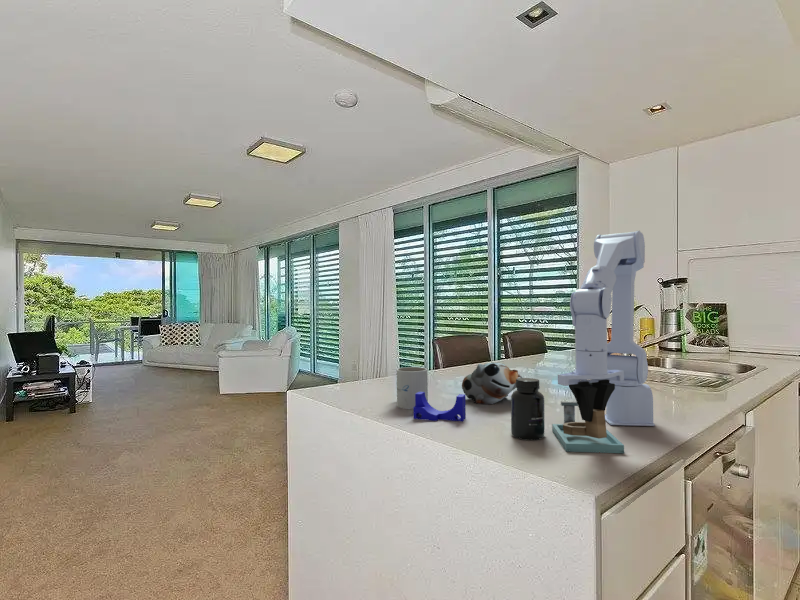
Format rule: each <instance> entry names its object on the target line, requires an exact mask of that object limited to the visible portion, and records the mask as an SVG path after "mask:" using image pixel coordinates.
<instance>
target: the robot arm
mask: <svg viewBox="0 0 800 600" xmlns="http://www.w3.org/2000/svg"><path fill="white" fill-rule="evenodd" d="M645 247H646V241H645V237H644V234H643V232H641V230H635V231H629V232H618V233H609V234H608V233H607V234H597V235H596V237H595V238H594V241H593V252H594V257H595V258H596V264H595V265H594V266H592V267H590V268H589V269H588V271H587V273H586V274H585V277H584V279H583V281H582V284H581V286H580V288H578V289H577V288H576V290H575V291H572V293H571V295H570V299H569V300H570V301H569V311H570V314H571V318H572V319H571V320H572V322H571V323H572V327H574V336H575V337H574V343H575V344H574V347H575V353H574V354H575V369H573V371H571V372H566V373H560V374H559V373H558V374H557V385H558V386H559V385H560V386H564V387H567V386H568V388H569V389H570V391H571V392H572V395H573V397H574V398H575V400H576V401H575V402H577V404H578V406H577V407H578V411H579V412H580V417H581V420H582V421H584V422H585V421H588V422H592V419H593V409H597V410H604V412H606V413H605V422H607V423H608V424H609V425H611V426H638V427H640V426H643V427H644V426H647V427H655V426H656V424H655V423H654V395H653V390H652V388H651V387H650V385H649V384H647V383H645V382H647V380H648V376H649V375H648V373H649V366H648V360H647V359H648V357H647V356H648V355H647V354H648V353H647V352H646V350H645V348H643V347H641V346H640V345H639V344H637V342H635V341H634V331H635V329H634V328H635V325H634V324H635V323H634V322H635V321H634V319H635V281H636V275H637V272H638V271H641V270H642V269H643V268H644V265H645V262H646V261H645V260H646V258H645V257H646V254H645V253H646V252H645V251H646V250H645V249H646V248H645ZM610 314H611V330H610V331H611V337H610V339H611V340H610V341H609V342H608V336H607V335H608V326H607V325H608V323H607V318H609V317H610ZM623 354H626V355H623ZM627 354H628V355H627Z"/></svg>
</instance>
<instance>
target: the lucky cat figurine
mask: <svg viewBox="0 0 800 600" xmlns="http://www.w3.org/2000/svg"><path fill="white" fill-rule="evenodd" d="M518 378H523V376H522V375H521V374H520V373H519V371H518V370H517V369H510V367H509V366H507V365H506V364H504V363H501V362H488V363H485V364H482V363H478V364H477V366H476V368H475V369H474V370H473V372H471V373H470V374H468V375H466V376H465V377H464V378H463V380H462V383H461V388H462V392H463V393H464V395H465V397H467V399H470V400H473V402H474V403H475V404H481V405H482V404H483V405H484V404H485V405H495V404H496V403H498V402H500V401H502V400H503V399H506V398H507V397H508V396H509V394H510V393H511V392H512V391H514V390H515V389H517V388H516V379H518Z"/></svg>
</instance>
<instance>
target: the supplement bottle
mask: <svg viewBox="0 0 800 600" xmlns="http://www.w3.org/2000/svg"><path fill="white" fill-rule="evenodd" d="M540 388H541V387H540V380H539V379H538V378H533V377H531V378H530V377H522V378H518V379H516V388H515V389H516V390H515V391H513V392H512V394H511V396H510V418H511V419H510V420H511V421H510V422H511V423H510V431H511V432H510V433H511V435H512V436H513V437H514V438H517V439H520V440H526V441H538V440H539V441H540V440H542V439H543V438H544V437H545V396H544V395H543V394H542V392H540V391H539V390H540Z"/></svg>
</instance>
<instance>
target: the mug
mask: <svg viewBox="0 0 800 600" xmlns="http://www.w3.org/2000/svg"><path fill="white" fill-rule="evenodd" d="M428 380H429V379H428V368H426V367H419V366H417V367H416V366H408V367H406V366H404V367H399V368H396V406H397V408H400V409H403V410H405V409H406V410H413V407H415V394H416V393H418V392H425V397H426V400H427V402H428V403H429V392H428V391H429V390H428V388H429V387H428V386H429V385H428V382H429V381H428Z"/></svg>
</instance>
